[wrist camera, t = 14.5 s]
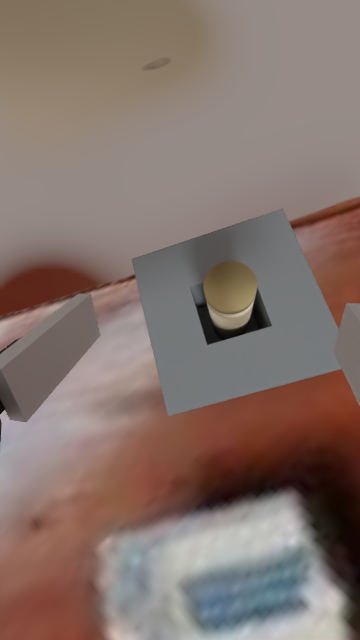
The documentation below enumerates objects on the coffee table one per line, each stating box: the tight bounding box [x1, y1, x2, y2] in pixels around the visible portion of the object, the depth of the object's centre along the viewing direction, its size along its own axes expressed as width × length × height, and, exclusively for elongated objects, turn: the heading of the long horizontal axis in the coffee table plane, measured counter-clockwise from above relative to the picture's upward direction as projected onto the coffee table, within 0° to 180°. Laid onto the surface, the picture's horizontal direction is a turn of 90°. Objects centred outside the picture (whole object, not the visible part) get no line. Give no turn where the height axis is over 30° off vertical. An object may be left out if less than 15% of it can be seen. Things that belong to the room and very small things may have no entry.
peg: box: [203, 261, 257, 340], centre depth 26 cm, size 4×4×12 cm
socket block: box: [132, 209, 342, 416], centre depth 29 cm, size 16×16×8 cm
